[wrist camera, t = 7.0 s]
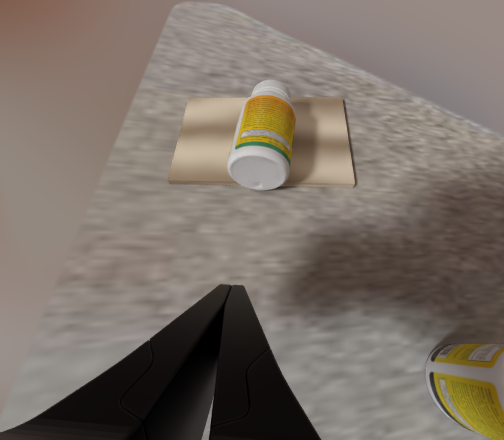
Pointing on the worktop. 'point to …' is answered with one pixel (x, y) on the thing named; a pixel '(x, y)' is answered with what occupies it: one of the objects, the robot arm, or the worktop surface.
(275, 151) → the supplement bottle
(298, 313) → the worktop surface
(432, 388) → the supplement bottle
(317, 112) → the birch board
